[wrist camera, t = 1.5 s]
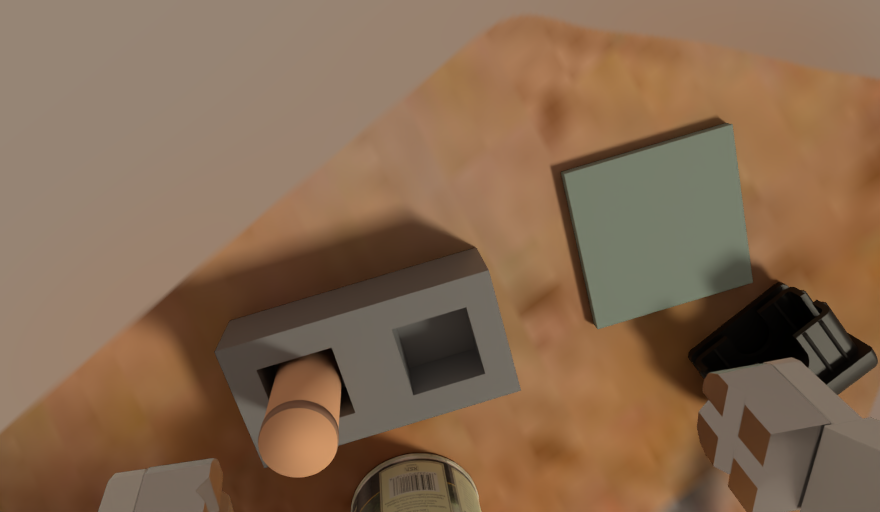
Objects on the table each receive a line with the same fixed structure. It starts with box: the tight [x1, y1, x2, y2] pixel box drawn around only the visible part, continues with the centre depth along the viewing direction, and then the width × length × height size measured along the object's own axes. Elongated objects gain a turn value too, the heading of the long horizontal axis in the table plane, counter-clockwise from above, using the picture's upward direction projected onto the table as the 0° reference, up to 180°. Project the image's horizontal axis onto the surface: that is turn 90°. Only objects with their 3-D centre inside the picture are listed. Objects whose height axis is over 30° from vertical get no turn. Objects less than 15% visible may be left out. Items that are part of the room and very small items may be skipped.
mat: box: [561, 123, 753, 329], centre depth 48 cm, size 12×12×1 cm
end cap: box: [688, 283, 878, 395], centre depth 49 cm, size 10×7×7 cm
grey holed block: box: [215, 248, 521, 468], centre depth 46 cm, size 9×18×5 cm, turn 105°
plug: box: [258, 348, 342, 477], centre depth 43 cm, size 4×4×10 cm
